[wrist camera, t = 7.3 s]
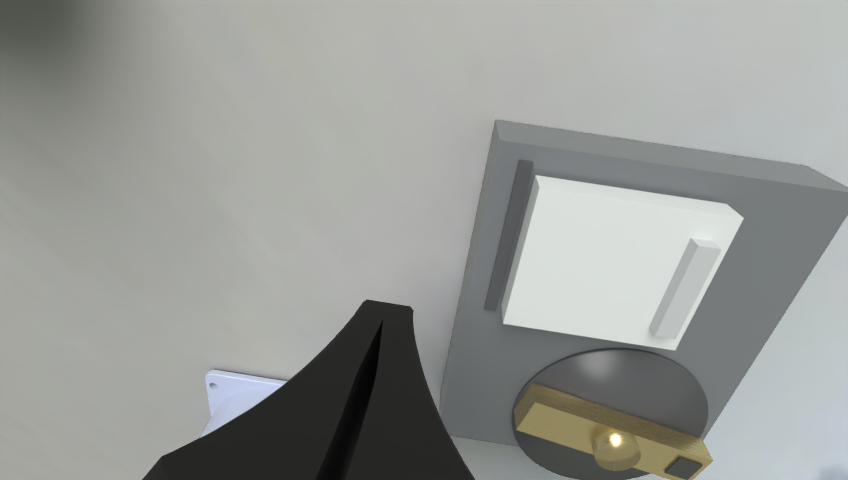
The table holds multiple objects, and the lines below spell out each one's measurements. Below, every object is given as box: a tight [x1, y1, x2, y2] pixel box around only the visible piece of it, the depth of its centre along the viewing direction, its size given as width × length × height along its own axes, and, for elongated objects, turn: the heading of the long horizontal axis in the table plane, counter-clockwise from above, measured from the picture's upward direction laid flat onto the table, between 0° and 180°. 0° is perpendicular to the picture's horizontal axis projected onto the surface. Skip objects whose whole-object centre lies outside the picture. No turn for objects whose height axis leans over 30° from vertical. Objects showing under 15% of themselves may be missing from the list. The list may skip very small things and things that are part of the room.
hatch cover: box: [501, 175, 744, 350], centre depth 17 cm, size 6×7×2 cm
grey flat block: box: [439, 120, 848, 480], centre depth 22 cm, size 18×13×3 cm
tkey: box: [514, 382, 713, 480], centre depth 22 cm, size 9×2×2 cm, turn 70°
